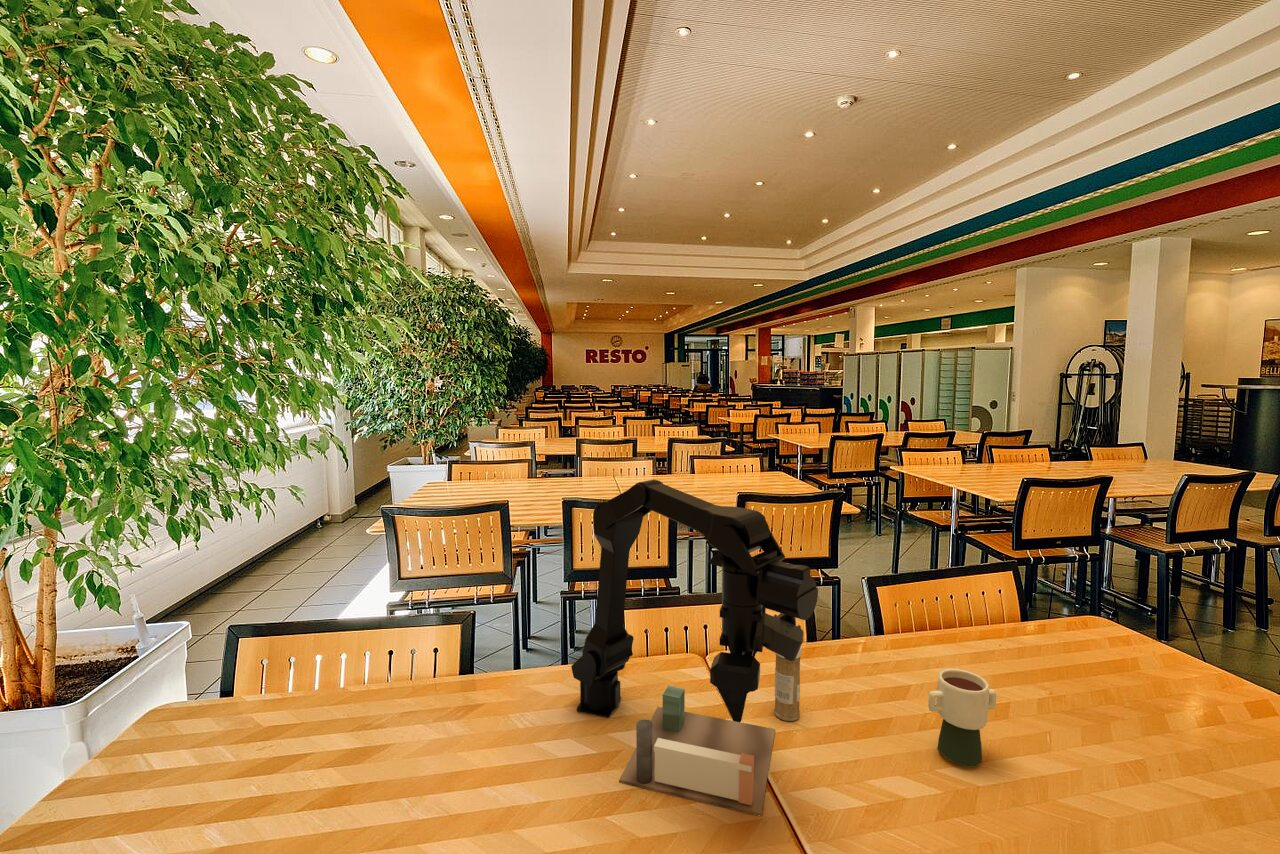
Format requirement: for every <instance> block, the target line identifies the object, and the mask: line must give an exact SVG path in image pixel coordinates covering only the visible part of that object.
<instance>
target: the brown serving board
mask: <svg viewBox="0 0 1280 854" xmlns="http://www.w3.org/2000/svg"><path fill="white" fill-rule="evenodd" d="M685 693H686V692H685V688H681V687H676V686H672V685H667V687H666V688H665V690H664V692H663V693H662V706H657V707H656V709H655V711H654V713H653V715H652V717H651V718H650V720H649V719H640V720H638V721H637V722H636V723H635V725H636V731H635V733H636V735H635V736H636V739H635V741H636V743H635V745H636V747H635V749H634V751H633V753H632V754H631V757H630V759H629V760H628V762H627V764H626V766H625V768H624V770H623V772H622V774H621V775H620V777H619V781H618V782H619V783H622V784H623V785H624V784H626V785H630V786H633V787H637V788H641V789H647V790H649V791H654V792H658V793H663V794H667V795H671V796H674V797H675V796H676V797H678V798H684V799H688V800H691V801H692V800H693V801H696V802H699V803H704V804H709V805H713V806H717V807H721V808H725V809H728V810H729V809H730V810H733V811H737V812H741V813H745V812H746V814H749V813H750V814H751V815H754V814H755V815H754V816H758V815H760V816H759V817H762V814H763V808H764V807H763V806H764V801H765V795H766V789H767V784H768V783H767V782H768V777H769V771H770V766H771V765H770V764H771V759H772V758H771V757H772V753H773V747H774V740H775V735H776V728H772V727H767V726H761V725H756V724H750V723H748V722H747V723H745V722H742V721H741V722H735V721H733V720H730V719H725V718H719V717H714V716H708V715H703V714H700V713H695V712H694V713H693V712H688V711H686V710H685V704H686V703H685V700H686V698H685V696H686V694H685ZM658 738H661V739H666V740H671V741H676V742H680V743H685V744H690V745H695V746H699V747H704V748H709V749H714V750H719V751H723V752H728V753H733V754H738V755H741V753H743V754H748V755H753V756H754V789H753V801H752V805H748V804H743V803H739V801H737V800H733V799H729V798H724V797H720V796H716V795H712V794H707V793H703V792H699V791H695V790H690V789H686V788H682V787H678V786H673V785H669V784H665V783H661V782H656V781H655V751H654V745H655V743H656V741H657V739H658Z"/></svg>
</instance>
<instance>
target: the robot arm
mask: <svg viewBox="0 0 1280 854" xmlns="http://www.w3.org/2000/svg"><path fill="white" fill-rule="evenodd" d="M651 512H654V513H656V514H659V515H661V516H663V517H665V518H668V519H669V520H671V521H674V522H677V523H679V524H681V525H682V526H685V527H687V528H690V529H692V530H694V531H696V532H698V533H700V535H703V537H704V538H705V539H706V541H707V542H708V545H710V546H711V547H713V549H716V550H717V551H718V552H717V553H716V554H715V555H713V557H711V558H710V559H709V560H708V562H709V565H712V566H716V567H721V606H720V609H719V618H721V632H720V633H721V634H720V636H719V646H720V647H721V646H722V647H728V650H729V652H724V651H720V652H719V653H718V654H716V655H715V656H714V657H713V660H712V663H711V666H710V669H709V676H710V677H709V683H710V684H711V685H713V686H714V687H716V689H717V691H718V693H719V694H720V697H721V699H722V700H723V702H724V705H725V706H726V708H727V711H728V713H729V715H730V717H731V719H732V721H735V722H741V723H742V720H743V715H744V712H745V711H744V710H745V705H746V701H747V700H746V699H747V696H748V694H749V693H750V692H751V693H752V692H755V691H757V690H758V689H759V685H760V678H761V677H760V676H761V675H760V674H761V663H760V662H759V660H758V659H756V654H757V653H763V651H764V648H765V649H767V650H769V651H771V652H772V653H777V654H779V655H781V656H783V657H784V658H785V659H787V660H789V661H795V659H796V657H797V654H798V652H799V650H800V647H802V644H803V642H804V630H803V629H802V627H801V625H800V624H798V625H797V620H796V619H799V620H802V621H807V620H809V618H810V617H812V614H814V612H815V609H816V606H817V603H818V597H819V587H817V583H816V579H815V578H814V577H813V576H812V575H811V567H810V566H807V565H803V564H793V563H789V562H785V561H784V562H783V560H785V558H786V556H785V554H784V552H783V551H782V549H781V547H780V545H779V544H778V542H777V540H776V538H775V537H774V535H773V533H772V531H771V529H770V527H769V524H768V521H767V520H766V516H765V515H764V514H762V512H759V511H758V510H755V509H750V508H745V507H740V506H739V507H738V506H727V505H726V506H723V505H719V504H718V505H716V504H714V503H712V502H709V501H707V500H704V499H701V498H698V497H696V496H694V495H691V494H688V492H687V493H686V492H684V491H682V490H678V489H676V488H674V487H671V486H669V485H666V484H665V483H663V482H662V481H660V480H658V479H649V480H644V481H640V482H639V481H638V482H636V483H635V484H634V485H632V486H630V488H629V489H627V490H625V491H623V492H622V493H620V494H618V495H616V496H615V497H612V498H611V499H607V500H605V501H601V502H599V503H598V504H597V505H595V507H594V509H593V517H592V523H593V534H594V537H595V539H596V541H597V542H598V544H599V546H600V558H599V559H600V560H599V573H598V584H597V598H596V607H595V609H596V610H595V621H594V623H593V626H592V627H591V629H590V631H588V633H587V635H586V637H585V640H584V644H583V648H582V652H581V653H582V654H581V656H580V657H579V658H578V659H577V660H575V662H574V663H572V665H571V666H570V667H571V671H572V675H573V678H574V679H576V680H577V681H579V682H580V684H579V687H580V689H579V690H580V693H579V695H580V697H579V698H580V701H579V702H580V703H579V704H578V706H577V707H576V711H577V712H579V713H583V714H588V715H593V716H598V717H604V718H610V717H611V716H612V714H613V713H614V711H615V710H616V709H617V708H618V706H619V704H620V703H621V700H622V696H621V681H620V680H619V676H618V675H619V672H620V671H623V670H624V669H625V666H626V663H628V662H629V660H630V657H632V656H634V653H633V643H634V636H633V635H632V634H630V633H628V631H627V629H626V628H625V626H624V617H625V616H624V615H625V605H626V604H625V603H626V593H627V585H628V584H627V582H628V574H629V573H628V570H629V561H630V560H629V559H630V550H631V548H632V547H633V545H634V543H635V541H636V540H637V538H638V536H639V534H640V532H641V528H642V525H643V521H644V517H645V516H647V515H648V514H649V513H651ZM758 550H762V552H760V553H758V554H755V555H753V556H752V555H751V553H753V552H755V551H758ZM766 609H767V610H770V611H773V612H777V613H779V614H776V613H775V614H774V615H771V614H768V613H766V611H767V610H766Z"/></svg>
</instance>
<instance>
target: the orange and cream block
mask: <svg viewBox="0 0 1280 854" xmlns="http://www.w3.org/2000/svg"><path fill="white" fill-rule="evenodd" d="M654 751H655V781H656V782H661V783H665V784H669V785H673V786H678V787H682V788H686V789H690V790H695V791H699V792H703V793H707V794H712V795H716V796H720V797H724V798H729V799H733V800H737V801H739V803H743V804H748V805H752V801H753V789H754V756H753V755H748V754H743V753H741V755H738V754H733V753H728V752H723V751H719V750H714V749H709V748H704V747H699V746H695V745H690V744H685V743H680V742H676V741H671V740H666V739H661V738H658V739H657V741H656V743H655V745H654Z"/></svg>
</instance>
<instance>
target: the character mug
mask: <svg viewBox="0 0 1280 854" xmlns="http://www.w3.org/2000/svg"><path fill="white" fill-rule="evenodd" d="M927 701H928V704H927V706H928V710H929V712H930V711H931V712H936V713H938V714H939V716H940V718H942V723H941V727H940V729H939V730H940V731H939V736H938V741H937V748H936V749H937V751H938V752H939V753H940V754H941V755H942V756H944V758H946V759H947V760H949V761H951V762H953V763H955V764H957V765H960V766H962V767H963V766H964V767H966V768H969V767H971V768H972V767H977V766H979V765H980V764H982V760H983V749H982V739H981V730H982V729H984V728H985V727H986V726H987V724H988V717H989V716H988V715H989V713H988V712H989V710H990V711H991V710H995V708H996V707H997V706H996V705H997V692H996V689H993V688H990V684H989V682H988V680H986V679H985V678H983V677H982V676H980V675H978V674H976V673H974V672H971V671H969V670H964V669H961V668H945V669H942V670H941V671H939V672H938V678H937V686H936V690H931V691H929V693H928V700H927Z"/></svg>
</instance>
